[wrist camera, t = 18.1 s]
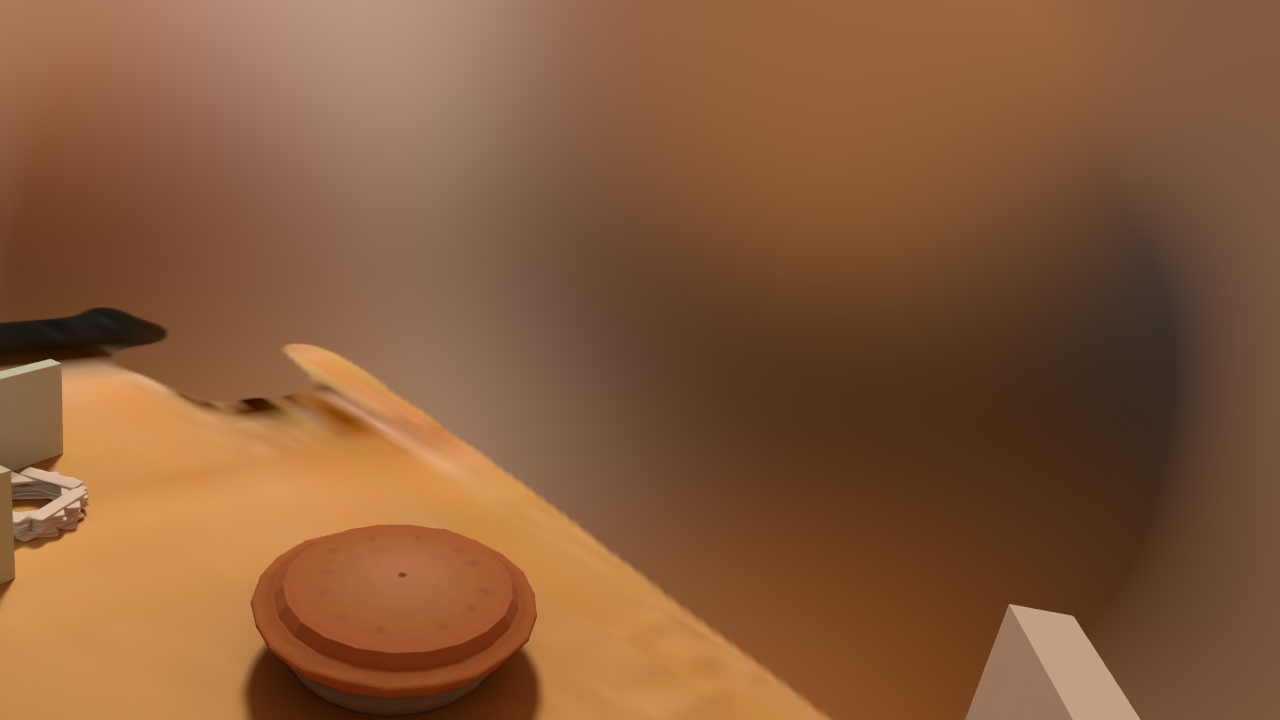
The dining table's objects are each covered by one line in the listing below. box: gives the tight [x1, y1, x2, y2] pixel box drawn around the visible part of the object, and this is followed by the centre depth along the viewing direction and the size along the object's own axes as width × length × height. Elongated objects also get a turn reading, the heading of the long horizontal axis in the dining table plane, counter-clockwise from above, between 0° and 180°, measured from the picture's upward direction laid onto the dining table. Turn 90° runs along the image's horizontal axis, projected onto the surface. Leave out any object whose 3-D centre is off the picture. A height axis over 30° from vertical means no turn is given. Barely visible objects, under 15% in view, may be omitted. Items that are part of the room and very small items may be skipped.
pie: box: [251, 525, 537, 716], centre depth 54 cm, size 16×16×5 cm
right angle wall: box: [0, 359, 89, 585], centre depth 60 cm, size 12×12×8 cm
